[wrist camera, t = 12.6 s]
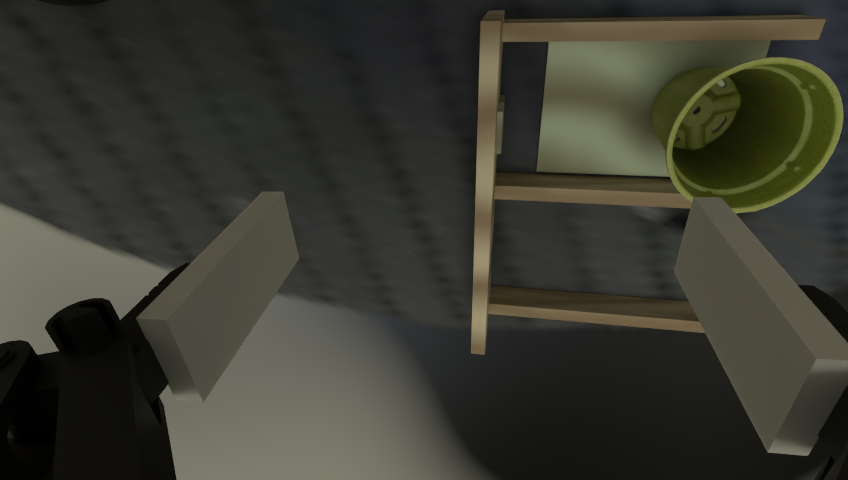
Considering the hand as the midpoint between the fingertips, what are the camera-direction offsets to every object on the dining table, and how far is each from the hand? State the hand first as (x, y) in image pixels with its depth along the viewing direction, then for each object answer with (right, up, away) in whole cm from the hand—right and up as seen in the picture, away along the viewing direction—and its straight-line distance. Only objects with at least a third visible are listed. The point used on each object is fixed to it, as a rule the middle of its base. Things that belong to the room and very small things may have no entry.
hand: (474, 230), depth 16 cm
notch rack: (+14, +5, +24) cm, 28 cm away
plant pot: (+19, +10, +20) cm, 29 cm away
